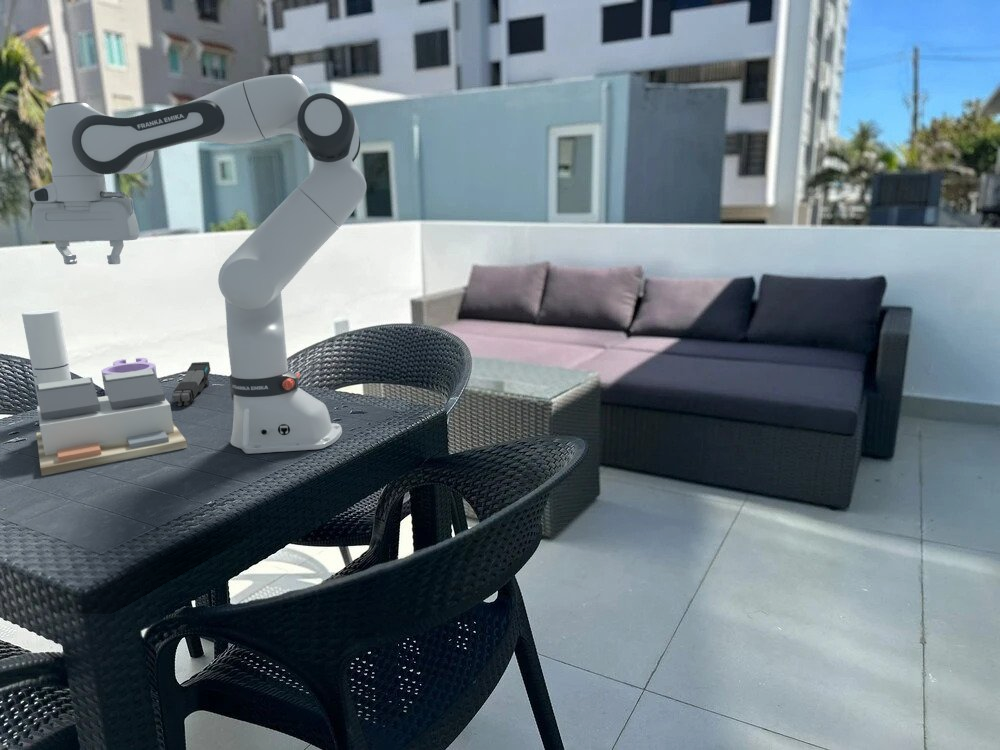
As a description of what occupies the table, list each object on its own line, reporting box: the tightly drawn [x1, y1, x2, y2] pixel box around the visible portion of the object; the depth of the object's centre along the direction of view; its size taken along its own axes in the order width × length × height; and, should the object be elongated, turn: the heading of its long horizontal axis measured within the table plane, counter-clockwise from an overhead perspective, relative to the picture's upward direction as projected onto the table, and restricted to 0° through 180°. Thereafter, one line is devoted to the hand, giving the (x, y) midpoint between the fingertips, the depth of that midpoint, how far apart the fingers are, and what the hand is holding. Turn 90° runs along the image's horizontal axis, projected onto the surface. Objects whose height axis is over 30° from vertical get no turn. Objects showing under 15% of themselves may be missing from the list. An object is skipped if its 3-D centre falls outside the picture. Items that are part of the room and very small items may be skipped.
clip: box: [101, 357, 158, 396], centre depth 186 cm, size 20×12×7 cm, turn 25°
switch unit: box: [36, 395, 188, 477], centre depth 145 cm, size 25×25×9 cm
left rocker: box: [35, 376, 101, 420], centre depth 142 cm, size 12×10×2 cm
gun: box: [171, 361, 211, 407], centre depth 181 cm, size 4×20×10 cm, turn 7°
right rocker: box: [101, 369, 166, 409], centre depth 149 cm, size 12×10×2 cm
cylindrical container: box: [21, 308, 72, 405], centre depth 160 cm, size 7×7×25 cm
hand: (92, 264), depth 140 cm, fingers open, 8 cm apart
